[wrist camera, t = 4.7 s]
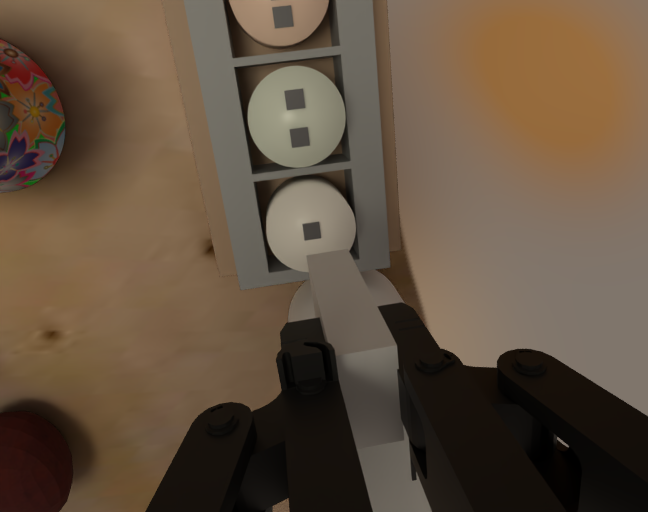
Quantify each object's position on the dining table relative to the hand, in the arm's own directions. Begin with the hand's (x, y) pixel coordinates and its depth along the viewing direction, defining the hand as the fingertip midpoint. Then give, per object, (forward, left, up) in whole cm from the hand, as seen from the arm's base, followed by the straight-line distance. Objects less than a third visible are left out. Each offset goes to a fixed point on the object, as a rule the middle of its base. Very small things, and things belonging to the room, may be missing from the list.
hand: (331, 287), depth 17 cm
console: (0, +5, -14) cm, 15 cm away
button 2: (0, +5, -12) cm, 13 cm away
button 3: (0, +11, -13) cm, 17 cm away
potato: (-22, -15, -15) cm, 30 cm away
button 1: (0, 0, -12) cm, 12 cm away
